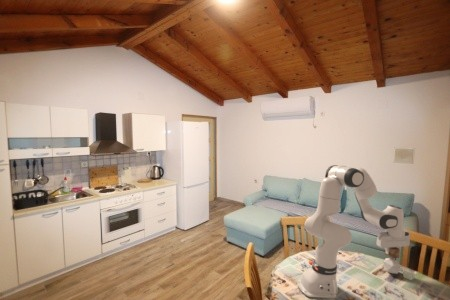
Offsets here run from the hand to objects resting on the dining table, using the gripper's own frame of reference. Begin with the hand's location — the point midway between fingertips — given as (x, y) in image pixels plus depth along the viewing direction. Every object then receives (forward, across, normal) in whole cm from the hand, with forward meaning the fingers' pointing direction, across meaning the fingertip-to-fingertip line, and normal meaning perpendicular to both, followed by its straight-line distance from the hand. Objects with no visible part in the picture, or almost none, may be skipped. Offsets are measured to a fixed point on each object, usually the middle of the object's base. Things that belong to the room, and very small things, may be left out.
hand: (392, 253), depth 137 cm
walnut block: (+2, 0, 0) cm, 2 cm away
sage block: (+13, +6, -6) cm, 16 cm away
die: (+13, 0, 0) cm, 13 cm away
